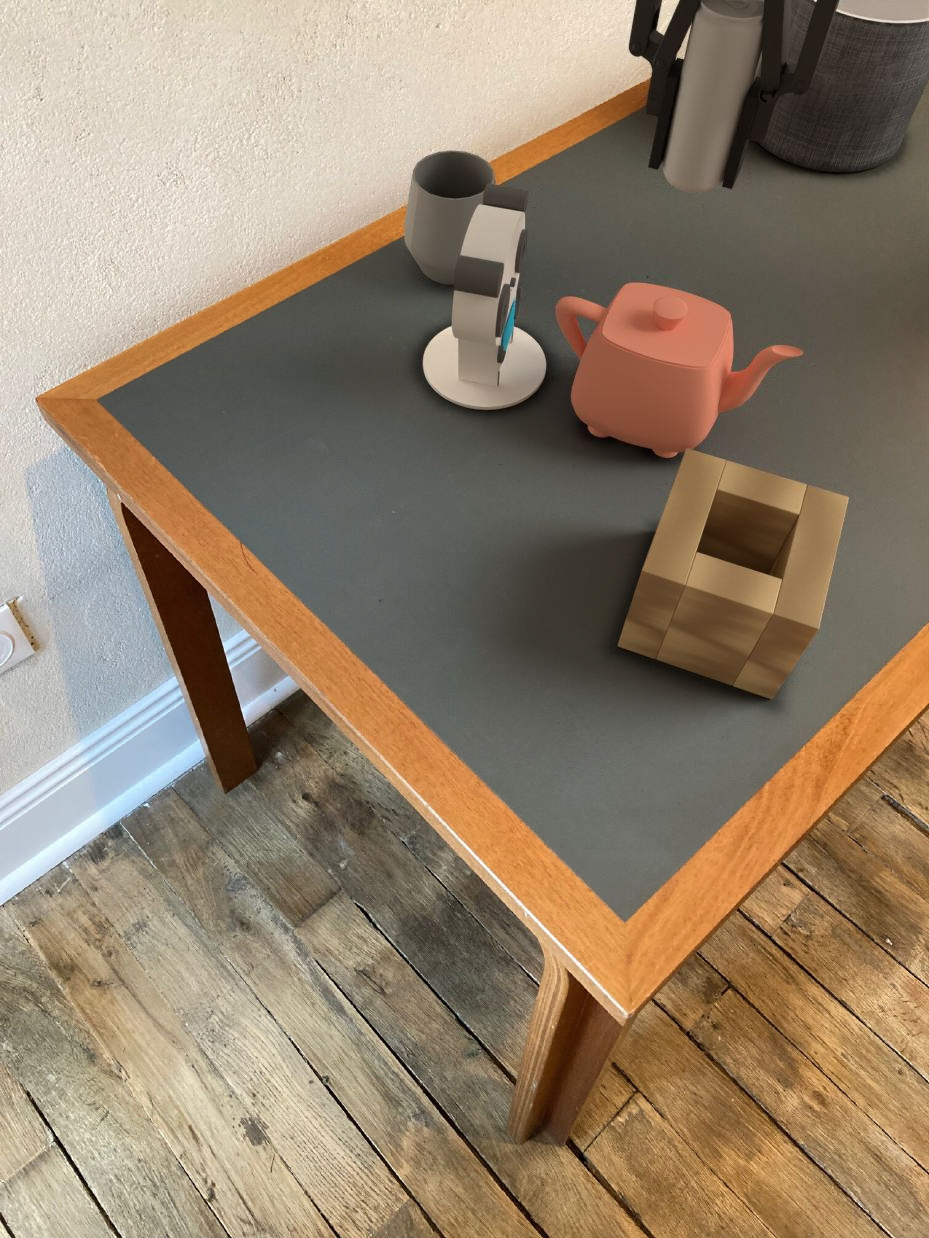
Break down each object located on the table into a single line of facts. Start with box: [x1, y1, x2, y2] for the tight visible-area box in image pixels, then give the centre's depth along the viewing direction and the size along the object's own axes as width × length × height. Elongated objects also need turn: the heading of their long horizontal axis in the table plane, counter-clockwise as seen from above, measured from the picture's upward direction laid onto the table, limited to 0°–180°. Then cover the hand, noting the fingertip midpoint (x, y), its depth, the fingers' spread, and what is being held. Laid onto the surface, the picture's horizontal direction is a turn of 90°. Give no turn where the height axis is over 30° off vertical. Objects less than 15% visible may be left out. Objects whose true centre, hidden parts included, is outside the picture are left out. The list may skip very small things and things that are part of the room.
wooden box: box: [617, 448, 850, 700], centre depth 69 cm, size 12×12×10 cm
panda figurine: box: [422, 183, 547, 411], centre depth 80 cm, size 12×11×15 cm
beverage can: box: [661, 0, 764, 194], centre depth 64 cm, size 5×5×12 cm
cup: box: [403, 150, 497, 286], centre depth 90 cm, size 10×9×10 cm
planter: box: [756, 0, 929, 173], centre depth 102 cm, size 18×18×16 cm
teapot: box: [555, 282, 804, 459], centre depth 79 cm, size 20×12×12 cm, turn 67°
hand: (694, 167), depth 69 cm, fingers closed on beverage can, 5 cm apart
